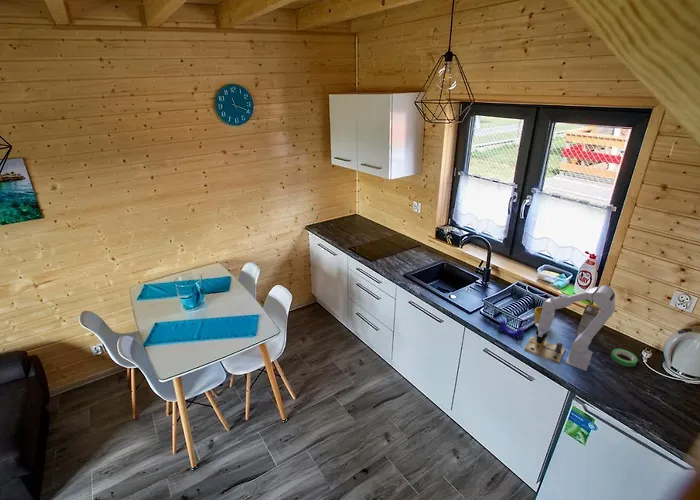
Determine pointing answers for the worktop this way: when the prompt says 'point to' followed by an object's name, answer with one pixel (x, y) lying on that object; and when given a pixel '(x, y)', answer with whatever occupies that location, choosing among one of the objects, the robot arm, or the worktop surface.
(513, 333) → the cable clip
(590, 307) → the coffee box
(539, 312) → the plant pot
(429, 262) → the worktop surface
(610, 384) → the worktop surface
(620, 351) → the tape roll
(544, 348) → the tan base plate
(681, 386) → the worktop surface
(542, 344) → the block
